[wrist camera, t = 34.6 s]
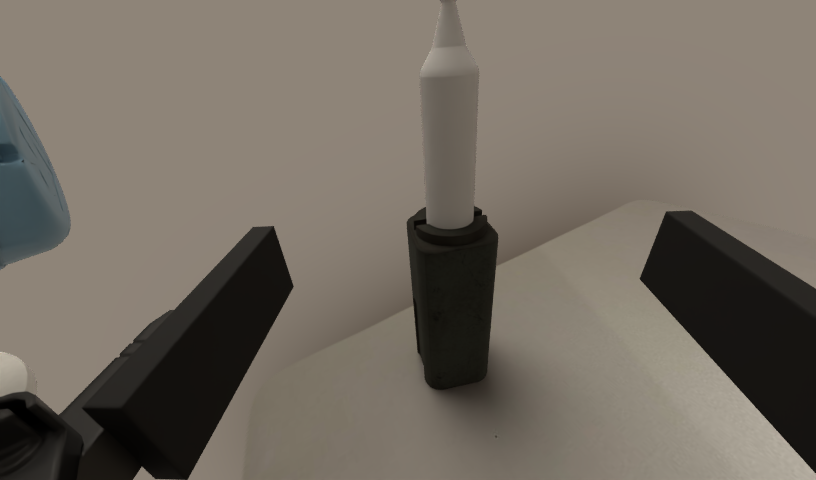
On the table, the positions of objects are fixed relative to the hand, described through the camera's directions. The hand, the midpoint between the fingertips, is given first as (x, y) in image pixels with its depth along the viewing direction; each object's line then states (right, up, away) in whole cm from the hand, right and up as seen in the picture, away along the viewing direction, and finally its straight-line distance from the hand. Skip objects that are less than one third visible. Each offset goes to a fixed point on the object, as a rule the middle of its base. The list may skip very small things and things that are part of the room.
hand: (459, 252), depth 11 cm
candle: (+2, -10, +16) cm, 19 cm away
